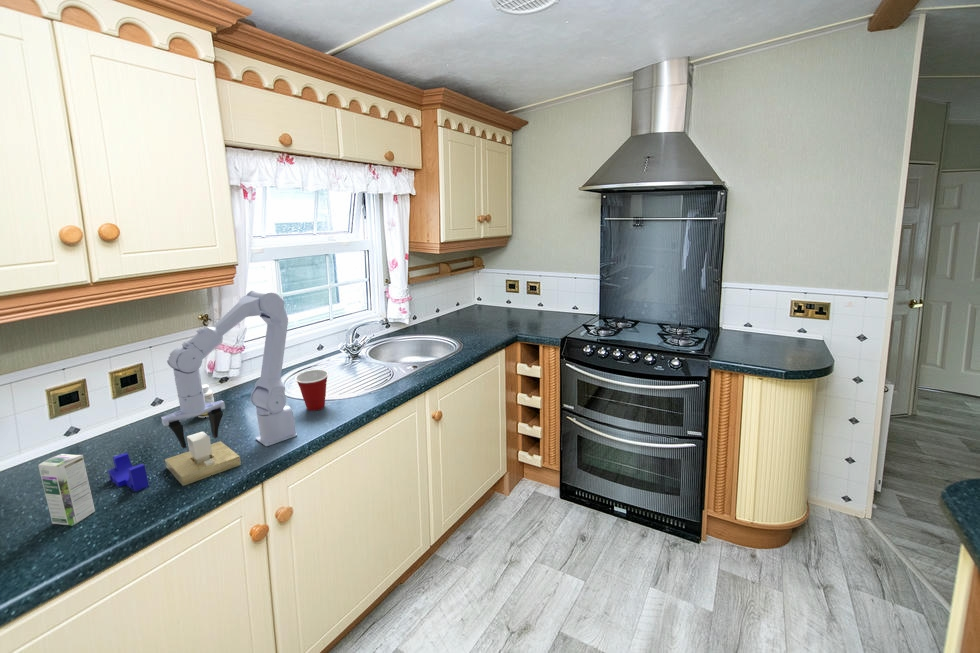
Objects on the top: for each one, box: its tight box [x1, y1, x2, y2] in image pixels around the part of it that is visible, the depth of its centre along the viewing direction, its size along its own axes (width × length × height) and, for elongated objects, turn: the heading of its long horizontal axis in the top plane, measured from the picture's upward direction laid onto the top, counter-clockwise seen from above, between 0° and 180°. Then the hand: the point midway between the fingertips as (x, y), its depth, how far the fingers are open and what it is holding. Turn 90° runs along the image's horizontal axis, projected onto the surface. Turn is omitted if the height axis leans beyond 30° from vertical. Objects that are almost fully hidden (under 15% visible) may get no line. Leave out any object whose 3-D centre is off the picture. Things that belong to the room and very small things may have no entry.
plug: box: [186, 430, 212, 463], centre depth 137 cm, size 4×5×8 cm
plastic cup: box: [294, 369, 329, 412], centre depth 174 cm, size 11×11×12 cm
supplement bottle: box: [197, 384, 215, 419], centre depth 171 cm, size 6×6×10 cm
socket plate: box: [164, 441, 242, 487], centre depth 137 cm, size 14×14×3 cm
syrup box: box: [37, 453, 96, 527], centre depth 114 cm, size 6×6×14 cm
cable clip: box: [107, 452, 150, 492], centre depth 130 cm, size 12×4×6 cm, turn 53°
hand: (199, 441), depth 136 cm, fingers open, 7 cm apart
